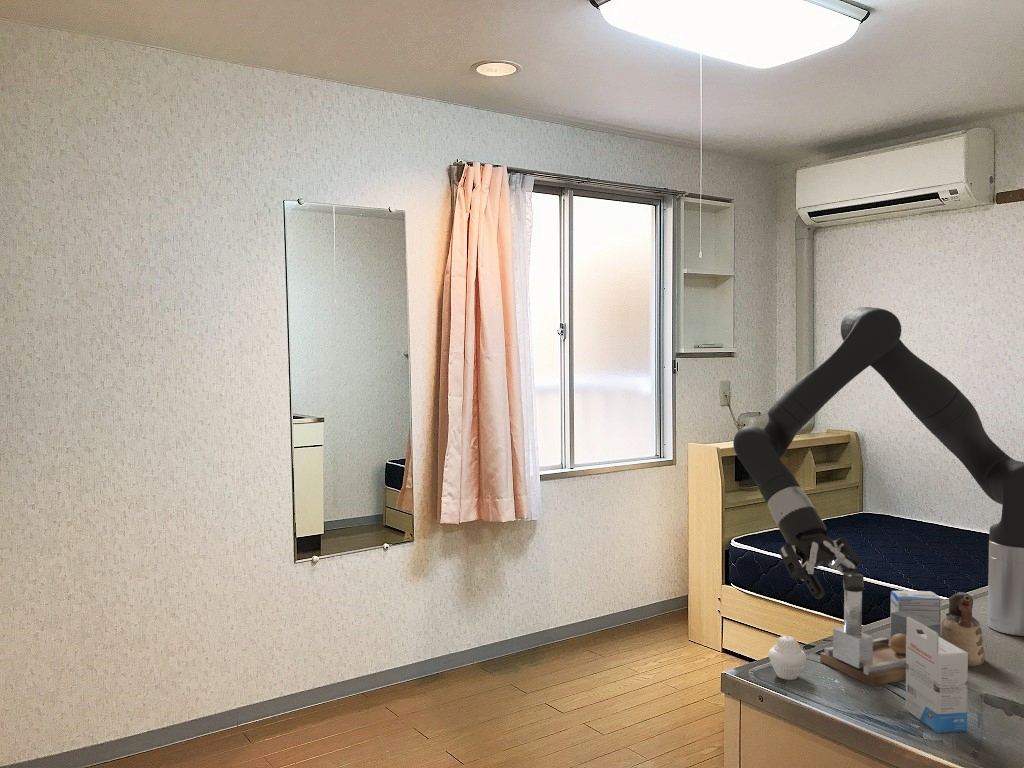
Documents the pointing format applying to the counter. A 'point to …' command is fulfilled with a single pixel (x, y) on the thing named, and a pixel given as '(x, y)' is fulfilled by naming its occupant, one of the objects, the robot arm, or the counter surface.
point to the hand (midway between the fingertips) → (840, 594)
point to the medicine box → (917, 604)
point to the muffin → (787, 658)
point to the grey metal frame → (896, 627)
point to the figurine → (963, 628)
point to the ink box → (935, 680)
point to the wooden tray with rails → (880, 655)
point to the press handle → (853, 626)
